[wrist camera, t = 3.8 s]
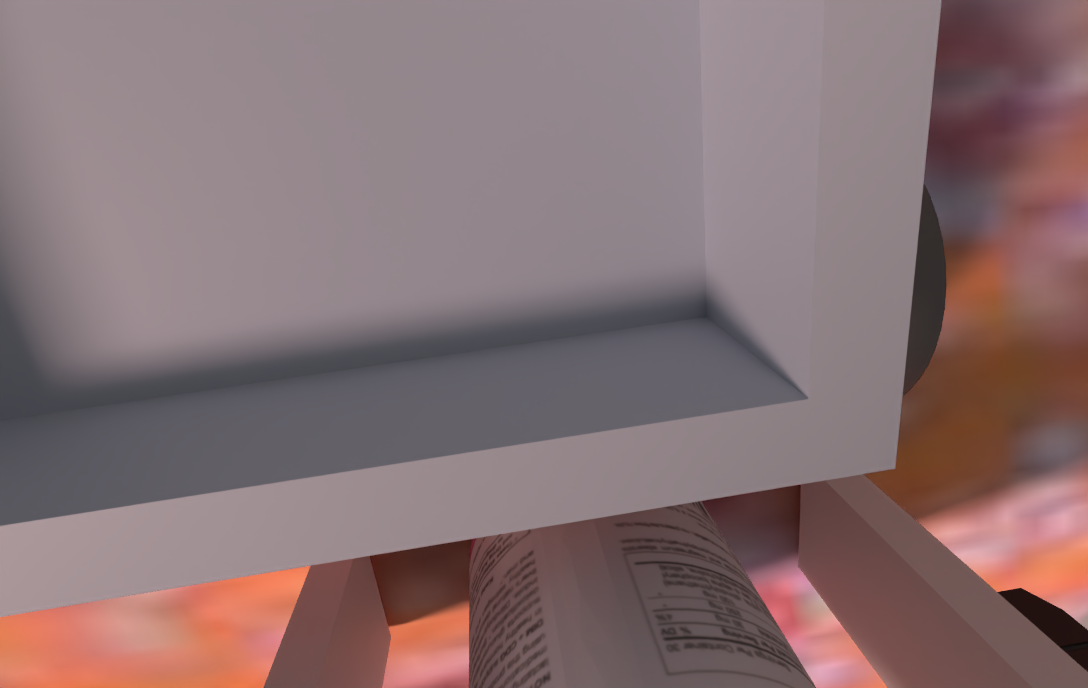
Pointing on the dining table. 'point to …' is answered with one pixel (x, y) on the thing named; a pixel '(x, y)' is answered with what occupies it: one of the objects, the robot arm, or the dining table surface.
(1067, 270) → the dining table surface
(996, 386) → the dining table surface
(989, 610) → the robot arm
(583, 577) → the pill bottle
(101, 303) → the trolley
